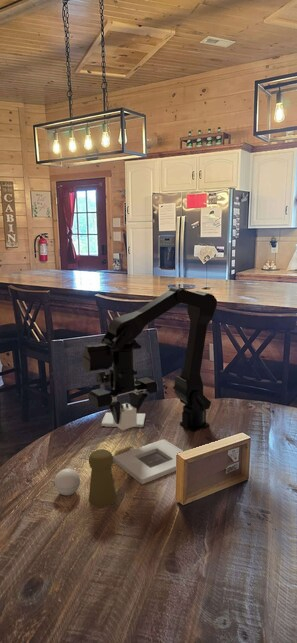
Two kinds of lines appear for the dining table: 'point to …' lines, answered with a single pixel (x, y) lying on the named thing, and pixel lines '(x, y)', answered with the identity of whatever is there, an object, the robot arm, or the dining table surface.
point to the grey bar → (126, 451)
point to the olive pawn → (101, 479)
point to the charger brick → (127, 417)
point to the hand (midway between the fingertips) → (125, 421)
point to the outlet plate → (149, 461)
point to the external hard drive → (109, 423)
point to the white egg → (67, 481)
